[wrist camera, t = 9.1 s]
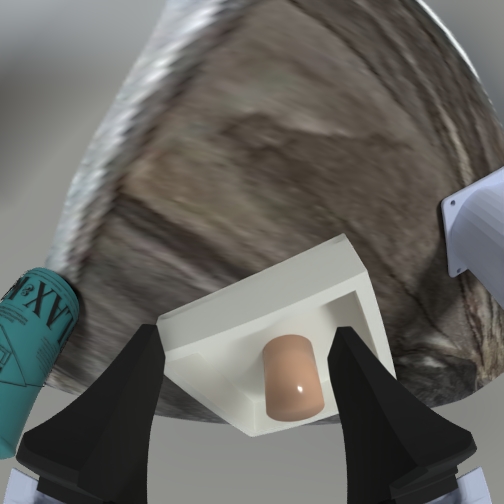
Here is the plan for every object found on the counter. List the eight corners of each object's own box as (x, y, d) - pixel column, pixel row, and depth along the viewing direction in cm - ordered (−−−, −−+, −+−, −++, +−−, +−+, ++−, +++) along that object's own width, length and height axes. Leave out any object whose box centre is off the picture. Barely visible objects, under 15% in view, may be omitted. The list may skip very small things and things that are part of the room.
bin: (343, 232, 19) (366, 270, 15) (384, 354, 27) (398, 389, 23) (158, 316, 23) (145, 358, 19) (250, 402, 30) (251, 437, 26)
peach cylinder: (321, 338, 23) (335, 397, 18) (299, 368, 26) (308, 423, 20) (273, 330, 23) (279, 392, 18) (255, 361, 25) (258, 419, 20)
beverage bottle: (97, 315, 23) (23, 521, 6) (45, 310, 23) (-35, 478, 6) (75, 254, 20) (-51, 484, 2) (22, 254, 20) (-96, 430, 2)
